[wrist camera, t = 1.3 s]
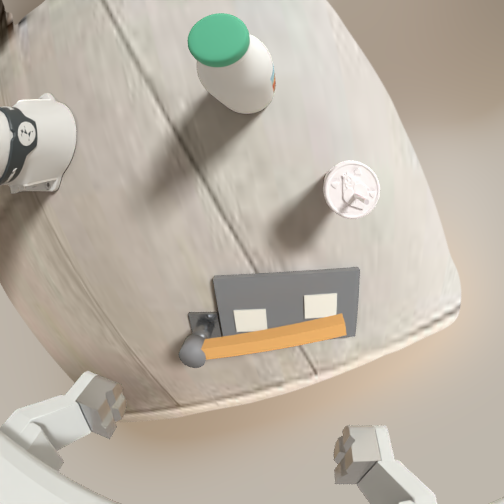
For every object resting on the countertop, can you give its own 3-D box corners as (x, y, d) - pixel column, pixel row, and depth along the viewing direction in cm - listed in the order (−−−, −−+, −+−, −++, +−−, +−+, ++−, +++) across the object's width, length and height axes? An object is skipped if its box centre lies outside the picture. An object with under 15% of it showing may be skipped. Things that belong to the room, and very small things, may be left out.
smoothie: (328, 211, 40) (350, 242, 27) (305, 172, 38) (318, 183, 25) (366, 190, 38) (404, 210, 25) (345, 150, 37) (376, 150, 24)
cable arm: (190, 355, 44) (185, 368, 41) (181, 336, 43) (174, 348, 40) (344, 329, 39) (348, 342, 36) (340, 306, 38) (344, 319, 35)
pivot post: (194, 336, 49) (186, 355, 44) (189, 312, 48) (179, 330, 43) (222, 336, 49) (215, 356, 44) (217, 311, 47) (210, 330, 42)
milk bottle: (272, 117, 36) (263, 85, 18) (216, 112, 37) (159, 82, 18) (278, 66, 34) (274, -2, 15) (223, 62, 34) (175, -1, 15)
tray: (225, 338, 49) (224, 343, 48) (214, 275, 45) (212, 279, 44) (353, 332, 46) (355, 337, 45) (358, 267, 42) (360, 270, 41)
